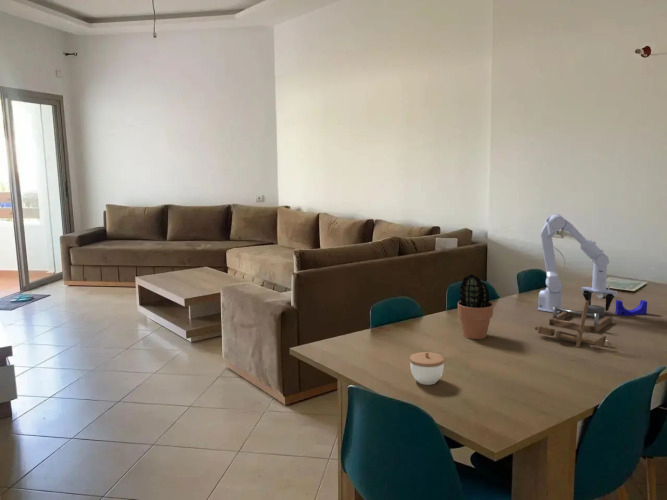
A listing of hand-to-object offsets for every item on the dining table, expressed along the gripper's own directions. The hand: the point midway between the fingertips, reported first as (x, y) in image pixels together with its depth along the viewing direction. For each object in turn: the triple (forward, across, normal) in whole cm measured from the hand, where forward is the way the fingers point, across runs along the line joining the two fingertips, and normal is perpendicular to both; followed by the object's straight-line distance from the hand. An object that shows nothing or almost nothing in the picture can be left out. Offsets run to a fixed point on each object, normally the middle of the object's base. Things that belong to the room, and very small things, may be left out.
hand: (597, 309), depth 248 cm
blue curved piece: (+2, +12, +6) cm, 14 cm away
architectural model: (+2, -3, +28) cm, 28 cm away
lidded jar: (+2, -15, -116) cm, 117 cm away
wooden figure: (+2, +4, -48) cm, 48 cm away
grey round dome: (+2, 0, -5) cm, 5 cm away
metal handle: (+2, 0, -29) cm, 29 cm away
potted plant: (+2, -26, -64) cm, 70 cm away
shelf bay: (+2, 0, -22) cm, 22 cm away
